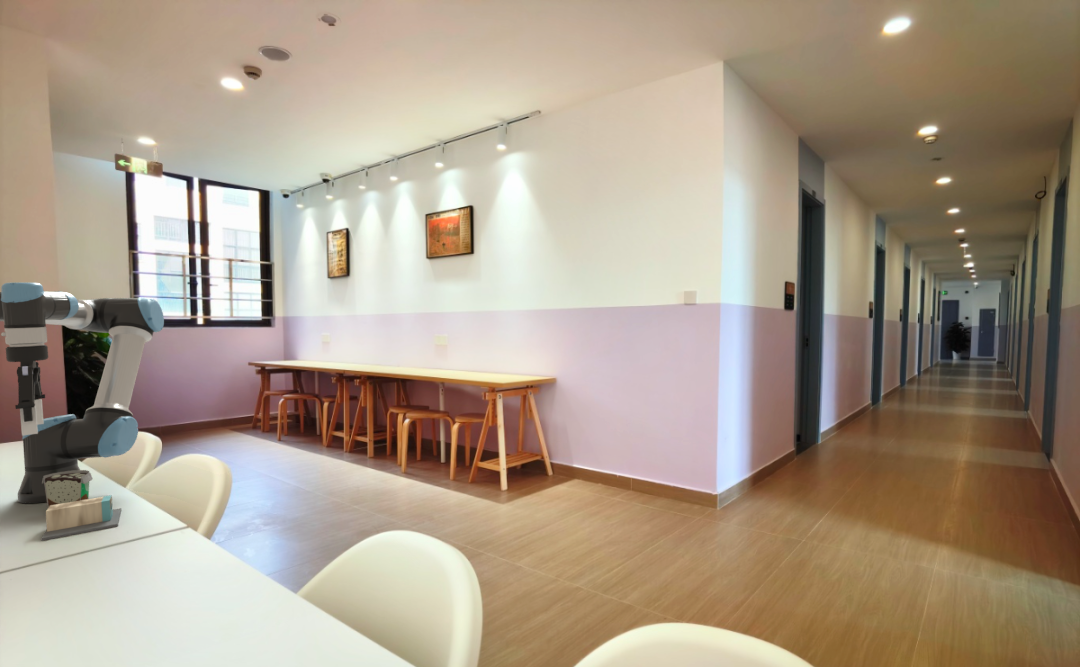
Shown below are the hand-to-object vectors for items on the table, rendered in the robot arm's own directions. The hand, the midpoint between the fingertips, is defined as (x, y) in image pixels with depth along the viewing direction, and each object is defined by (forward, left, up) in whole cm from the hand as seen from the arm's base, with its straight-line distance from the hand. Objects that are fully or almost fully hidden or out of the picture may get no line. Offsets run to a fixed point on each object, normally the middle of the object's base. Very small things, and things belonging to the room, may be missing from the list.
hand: (33, 429), depth 134 cm
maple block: (+7, +3, -21) cm, 23 cm away
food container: (-10, +6, -25) cm, 27 cm away
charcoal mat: (+7, +9, -24) cm, 27 cm away
